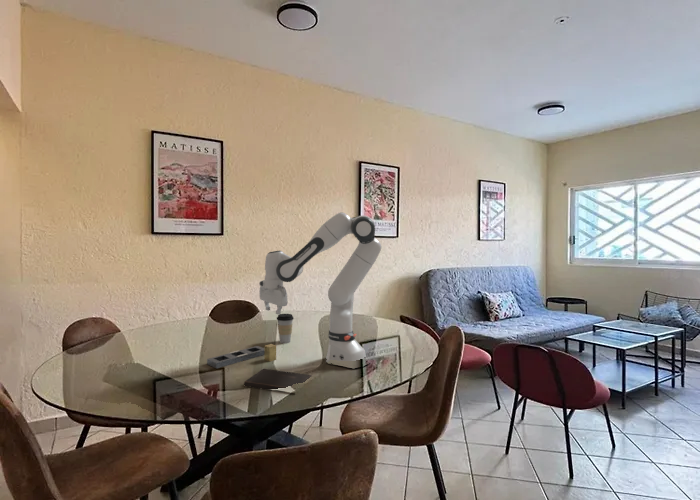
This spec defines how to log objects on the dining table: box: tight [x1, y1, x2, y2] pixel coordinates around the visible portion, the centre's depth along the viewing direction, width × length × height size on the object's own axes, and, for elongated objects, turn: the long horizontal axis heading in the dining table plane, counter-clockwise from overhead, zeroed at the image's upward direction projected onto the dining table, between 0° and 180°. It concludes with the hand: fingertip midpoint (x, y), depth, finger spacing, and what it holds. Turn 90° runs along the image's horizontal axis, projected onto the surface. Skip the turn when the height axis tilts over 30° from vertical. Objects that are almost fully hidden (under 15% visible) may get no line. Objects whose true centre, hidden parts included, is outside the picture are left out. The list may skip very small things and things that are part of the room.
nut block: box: [263, 343, 277, 363], centre depth 194 cm, size 4×4×7 cm
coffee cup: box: [276, 313, 295, 344], centre depth 224 cm, size 9×9×15 cm
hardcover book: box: [243, 368, 313, 390], centre depth 167 cm, size 16×23×2 cm
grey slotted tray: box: [206, 345, 264, 369], centre depth 195 cm, size 8×28×3 cm, turn 139°
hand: (272, 312), depth 196 cm, fingers open, 8 cm apart
